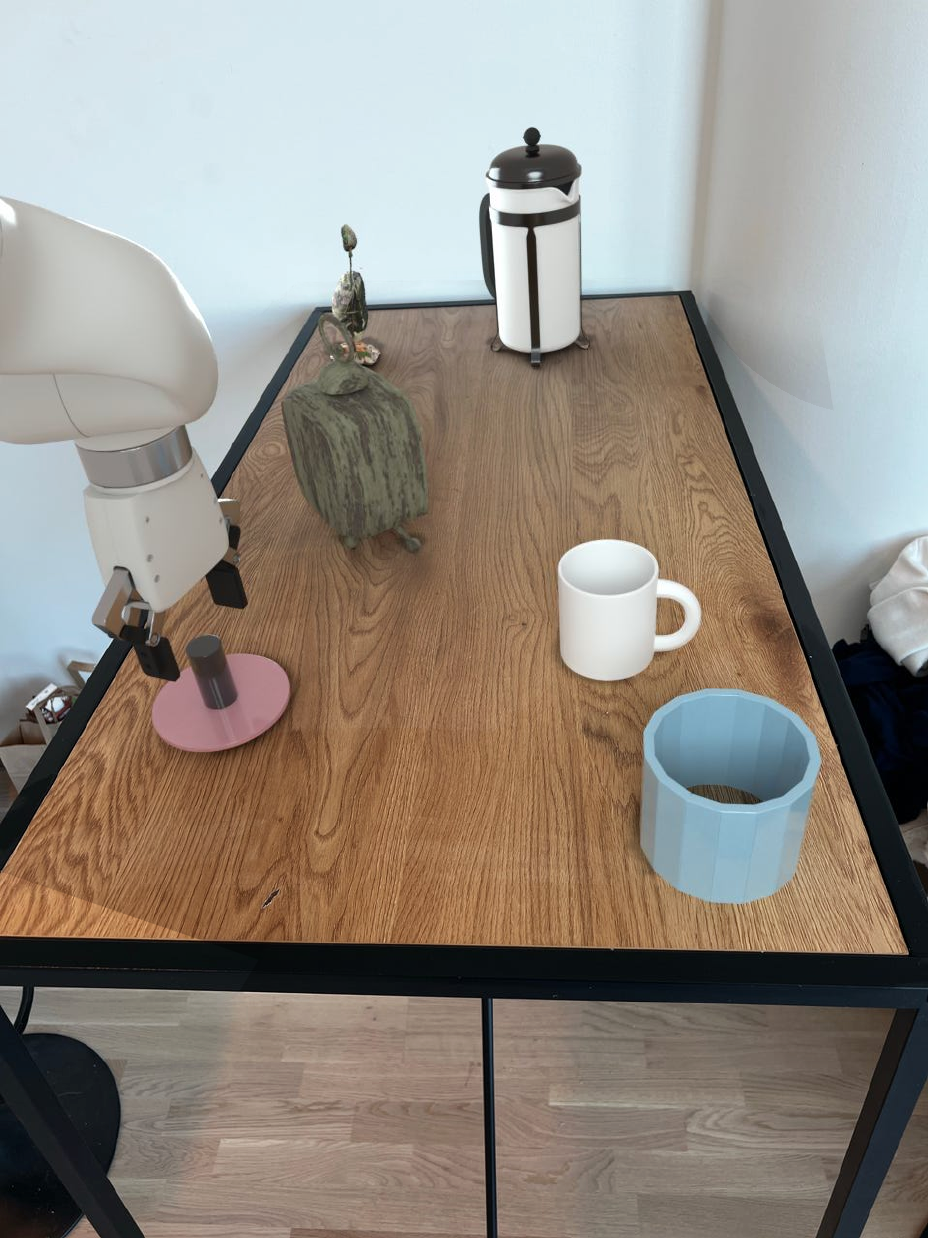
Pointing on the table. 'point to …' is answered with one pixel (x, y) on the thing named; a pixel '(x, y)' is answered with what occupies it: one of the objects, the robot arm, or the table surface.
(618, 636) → the mug
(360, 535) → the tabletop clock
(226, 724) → the lid
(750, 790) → the hollow cylinder
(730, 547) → the table surface
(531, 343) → the coffee press
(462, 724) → the table surface
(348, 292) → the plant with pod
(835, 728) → the table surface
